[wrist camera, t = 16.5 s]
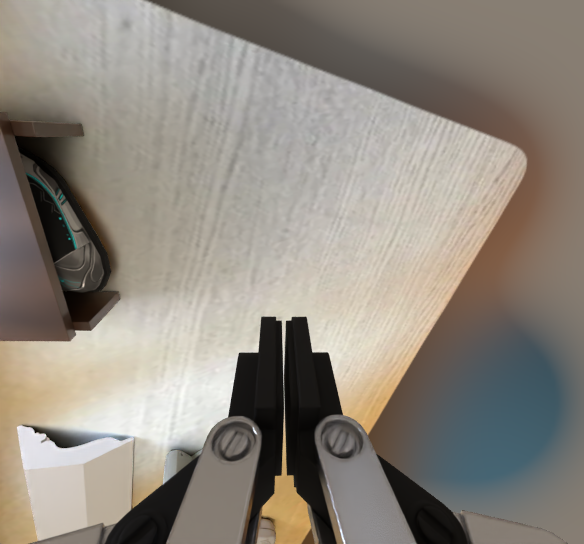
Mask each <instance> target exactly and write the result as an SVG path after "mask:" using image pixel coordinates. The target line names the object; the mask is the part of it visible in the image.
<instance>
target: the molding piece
mask: <svg viewBox="0 0 584 544" xmlns="http://www.w3.org/2000/svg"><path fill="white" fill-rule="evenodd" d="M17 431H18V437H19V443H20V449H21V455H22V461H23V467H24V473H25V478H26V483H27V488H28V493H29V498H30V503H31V508H32V513H33V518H34V523H35V528H36V533H37V538H38V541H40V540H44V539H47V538H51V537H54V536H58V535H61V534H65V533H68V532H72V531H75V530H79V529H82V528H86V527H89V526H93V525H96V524H100V523H104V525H105V526H108V525H112V524H115V523H118V522H119V521H120V520H121V519H122V518H123V517H124V516H125V515H126V514H127V513H128V512H129V511H131V501H132V474H133V447H134V439H133V437H131V438H129V439H126V440H123V441H119V440H118V439H116V440H115V439H114V438H112V437H107V438H101V439H98V440H95V441H92V442H89V443H86V444H83V445H80V446H76V447H71V448H59V447H57V446H56V445H55V443H54V442H52V441H50V439H49V438H48V437H46V434H39V432H38V433H36V434H35V433H34V430H33V428H31V427H25V426H24V427H23V425H21V426H18V427H17Z"/></svg>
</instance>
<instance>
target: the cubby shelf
mask: <svg viewBox="0 0 584 544" xmlns="http://www.w3.org/2000/svg"><path fill="white" fill-rule="evenodd" d="M14 136H24V137H67V136H84V134H83V129H82V125H81V124H75V123H56V122H38V121H19V120H9V118H8V115H7V113H6V112H0V341H71V340H72V339H73V338H74V337H75V336H76V333H75V330H79V331H91V330H92V329H93V328H94V327H95V326H96V325H97V324H98V323H99V322H100V321H101V320H102V318H103V317H104V316H105V315H106V314H107V313H108V312H109V311H110V310H111V309H112V308H113V307H114V305H115V304H116V303H117V302H118V301H119V300H120V296H119V292H101V291H98V292H83V293H82V292H73V291H62V288H61V285H60V282H59V278H58V275H57V272H56V269H55V266H54V262H53V259H52V256H51V253H50V249H49V246H48V243H47V240H46V237H45V233H44V230H43V227H42V224H41V221H40V217H39V214H38V211H37V208H36V204H35V201H34V198H33V195H32V192H31V188H30V185H29V182H28V179H27V176H26V172H25V169H24V166H23V163H22V160H21V156H20V153H19V150H18V147H17V143H16V140H15V137H14Z"/></svg>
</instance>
